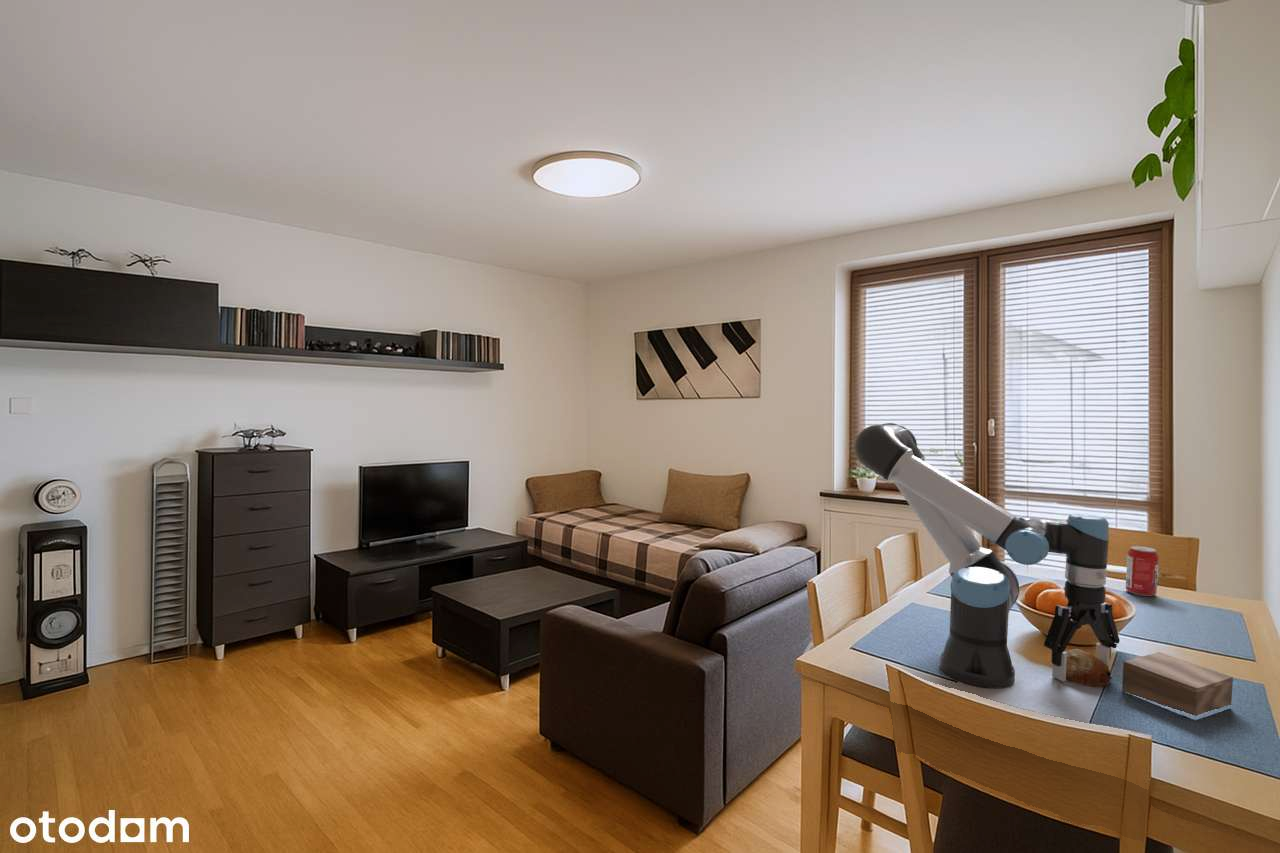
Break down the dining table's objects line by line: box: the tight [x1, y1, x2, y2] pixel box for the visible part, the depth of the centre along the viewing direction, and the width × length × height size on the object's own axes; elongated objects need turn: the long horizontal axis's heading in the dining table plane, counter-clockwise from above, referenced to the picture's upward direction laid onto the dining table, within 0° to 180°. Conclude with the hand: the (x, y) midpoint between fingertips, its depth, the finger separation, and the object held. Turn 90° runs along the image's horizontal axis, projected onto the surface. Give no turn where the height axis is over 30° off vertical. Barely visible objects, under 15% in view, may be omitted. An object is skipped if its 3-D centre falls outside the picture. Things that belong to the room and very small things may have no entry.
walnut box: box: [1121, 651, 1234, 716], centre depth 128 cm, size 13×13×7 cm
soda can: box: [1125, 545, 1160, 597], centre depth 198 cm, size 8×8×15 cm
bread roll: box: [1065, 648, 1112, 688], centre depth 139 cm, size 10×10×8 cm
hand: (1080, 676), depth 139 cm, fingers open, 12 cm apart
